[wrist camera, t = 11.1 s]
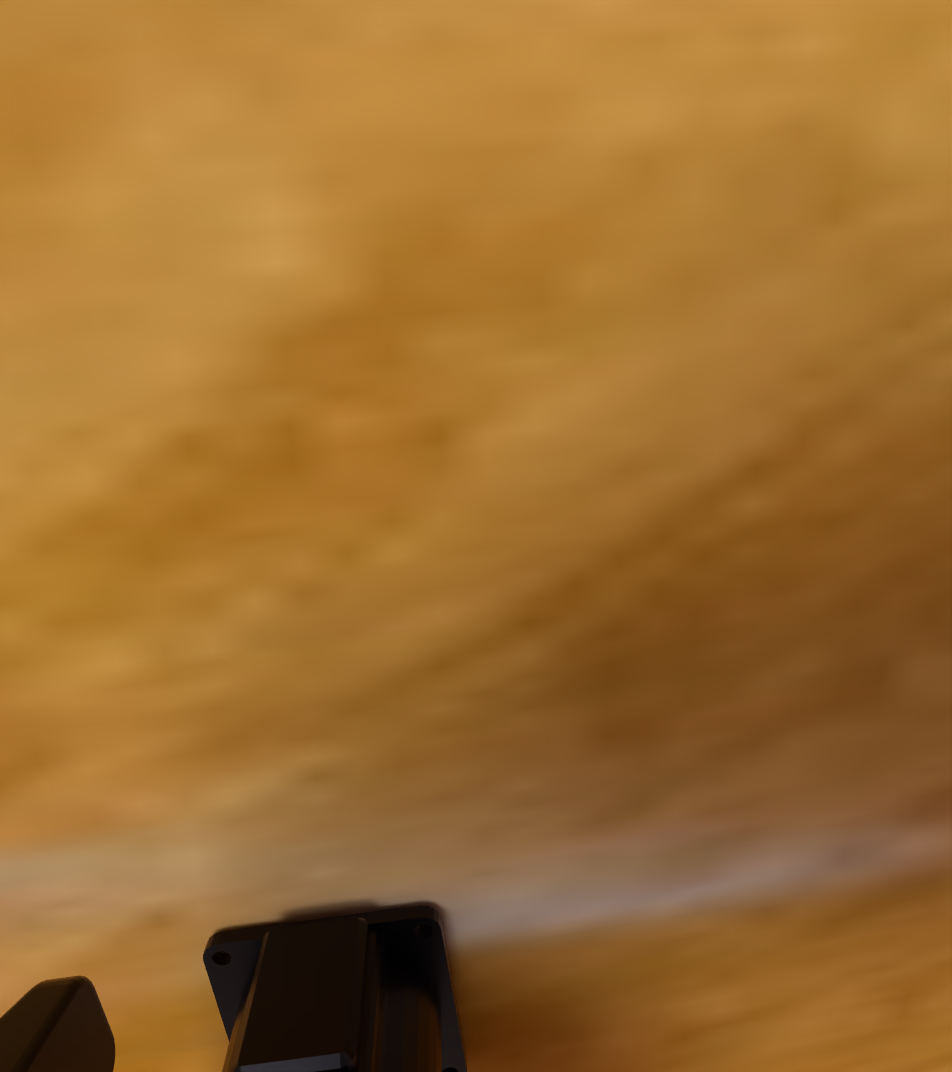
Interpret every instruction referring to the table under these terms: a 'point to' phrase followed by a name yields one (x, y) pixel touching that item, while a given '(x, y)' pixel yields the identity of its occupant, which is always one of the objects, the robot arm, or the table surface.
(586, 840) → the table surface
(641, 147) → the table surface
